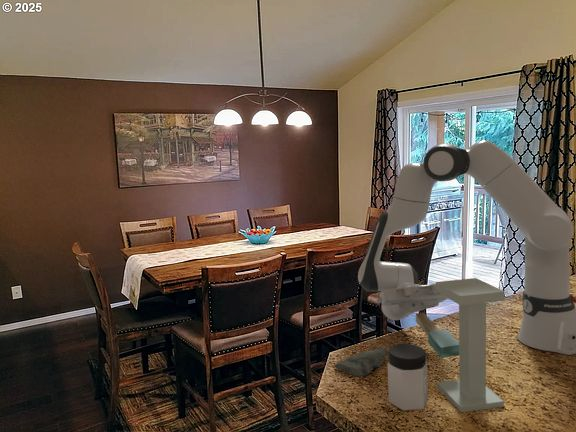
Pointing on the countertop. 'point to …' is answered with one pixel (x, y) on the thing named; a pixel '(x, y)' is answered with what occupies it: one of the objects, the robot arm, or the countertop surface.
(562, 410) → the countertop surface
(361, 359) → the stone
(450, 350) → the mallet
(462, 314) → the shelf stand
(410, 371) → the jar
